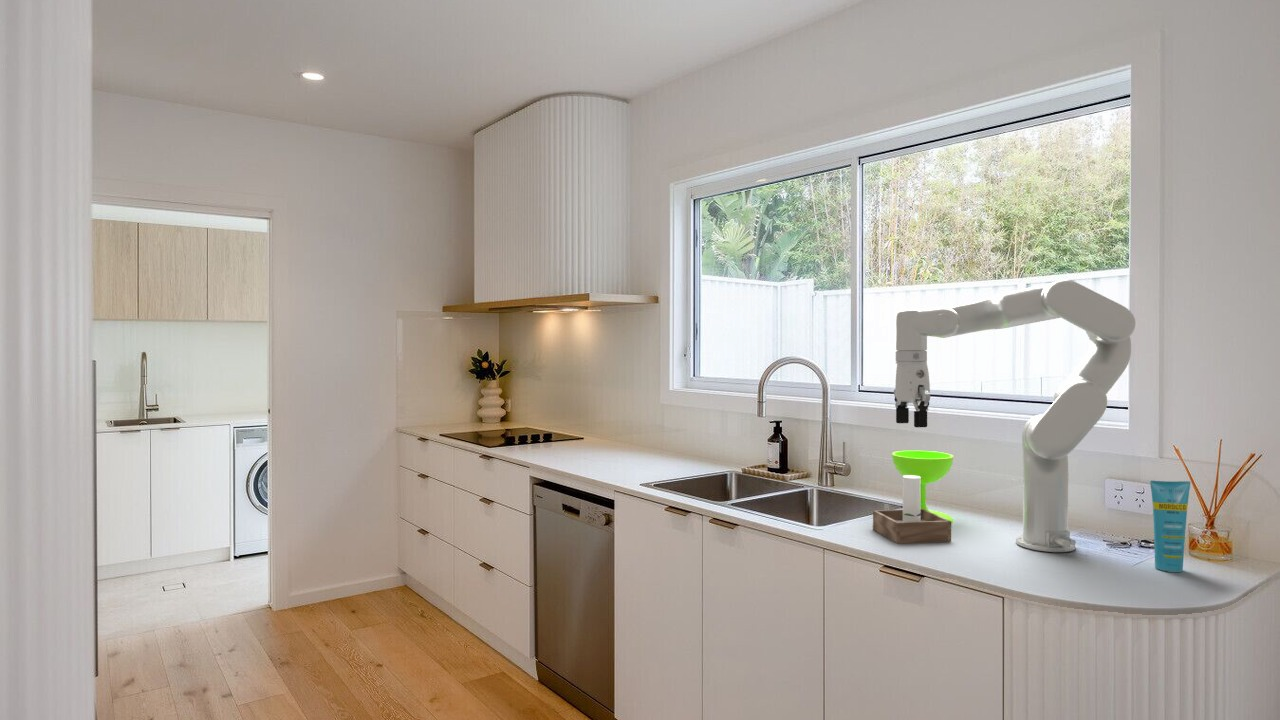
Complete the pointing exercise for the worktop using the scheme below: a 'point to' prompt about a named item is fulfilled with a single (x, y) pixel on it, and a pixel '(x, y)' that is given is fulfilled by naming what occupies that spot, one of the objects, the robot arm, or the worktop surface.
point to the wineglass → (924, 469)
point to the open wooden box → (912, 527)
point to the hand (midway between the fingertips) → (911, 425)
